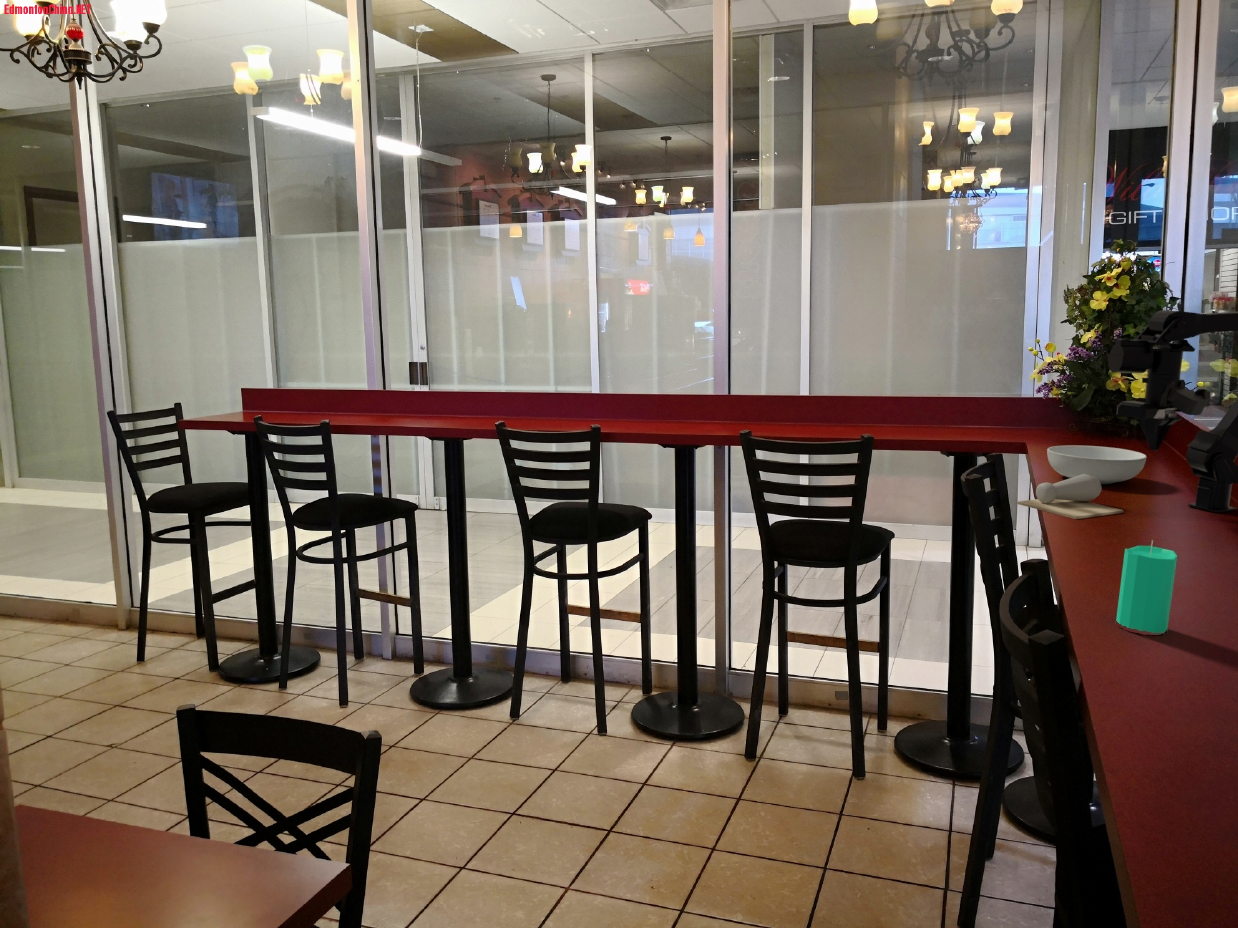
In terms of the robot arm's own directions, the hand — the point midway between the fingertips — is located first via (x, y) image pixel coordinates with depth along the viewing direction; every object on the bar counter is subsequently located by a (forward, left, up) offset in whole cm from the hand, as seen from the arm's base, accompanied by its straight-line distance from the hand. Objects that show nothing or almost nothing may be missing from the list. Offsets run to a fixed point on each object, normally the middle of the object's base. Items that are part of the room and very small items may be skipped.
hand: (1154, 450), depth 196 cm
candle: (+68, +46, -12) cm, 83 cm away
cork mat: (+16, -6, -12) cm, 21 cm away
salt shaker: (+7, -7, -8) cm, 13 cm away
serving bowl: (-15, -24, -12) cm, 31 cm away
